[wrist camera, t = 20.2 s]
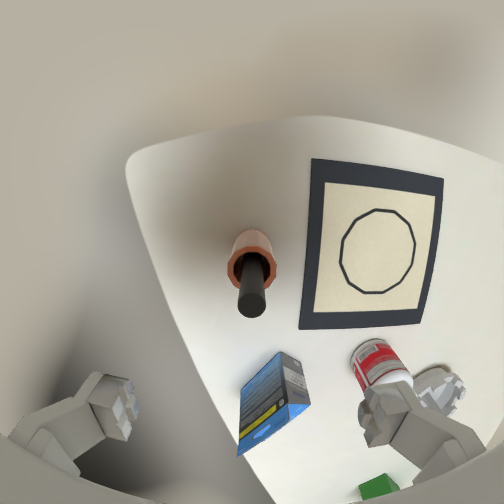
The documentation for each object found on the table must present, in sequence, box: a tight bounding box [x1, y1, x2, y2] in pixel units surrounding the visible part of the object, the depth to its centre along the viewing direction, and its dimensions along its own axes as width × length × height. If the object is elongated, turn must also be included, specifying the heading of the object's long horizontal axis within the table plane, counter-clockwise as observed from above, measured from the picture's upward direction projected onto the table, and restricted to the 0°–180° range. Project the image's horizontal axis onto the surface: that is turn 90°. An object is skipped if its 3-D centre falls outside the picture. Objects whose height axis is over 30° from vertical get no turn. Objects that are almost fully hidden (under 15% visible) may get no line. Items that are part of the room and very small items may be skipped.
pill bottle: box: [351, 340, 418, 398], centre depth 29 cm, size 6×6×11 cm
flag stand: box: [413, 368, 466, 418], centre depth 22 cm, size 13×13×30 cm
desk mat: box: [299, 159, 444, 330], centre depth 30 cm, size 20×18×1 cm
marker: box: [238, 252, 266, 318], centre depth 23 cm, size 2×2×14 cm
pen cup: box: [228, 230, 277, 289], centre depth 27 cm, size 4×4×8 cm
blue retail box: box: [237, 352, 311, 458], centre depth 29 cm, size 9×4×12 cm, turn 144°
